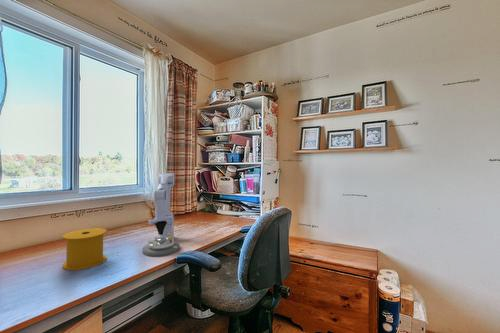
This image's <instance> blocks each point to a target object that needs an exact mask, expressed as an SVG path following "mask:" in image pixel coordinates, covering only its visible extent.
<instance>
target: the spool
mask: <svg viewBox="0 0 500 333" xmlns="http://www.w3.org/2000/svg"><path fill="white" fill-rule="evenodd" d="M107 232H108V231H107V229H106V228H101V227H99V228H96V227H95V228H84V229H83V228H82V229H76V230H74V231H70V232H67V233H66V232H65V233H64V234H63V235H62V239H63V240H65V241H66V255H65V256H66V261H65V262H63V263H62V265H61V266H62V269H63V270H65V271H79V270H85V269H90V268H94V267H96V266H97V267H98V266H99V265H101V264H103V263H105V262H106V260H107V255H105V254H104V235H105V234H107Z"/></svg>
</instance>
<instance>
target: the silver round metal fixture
mask: <svg viewBox="0 0 500 333" xmlns="http://www.w3.org/2000/svg"><path fill="white" fill-rule="evenodd" d="M174 242H175V238H172V233H168V236H165V237H162V238H160V236H155V237H153V239H149V240H148V243H147V244H148V248H149V249H150V250H165V249H169V248H171V247H173V246H174Z"/></svg>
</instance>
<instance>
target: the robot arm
mask: <svg viewBox="0 0 500 333" xmlns="http://www.w3.org/2000/svg"><path fill="white" fill-rule="evenodd" d="M175 177H176V175H175V173H174V172H172V173H171V172H169V173H166V172H163V173H162V172H159V174H158V180H157V181H158V183H159V184H158V186H157V189H156V190H155V191H154V196H153V198H154V203H155V211H154V213H155V217H154V218H153V219H150V220H147V221H148V222H147V224H148V225H153V224H154V226H155V228H156V229H157V233H158V235H159V238H162V237H165V236H168V233H172V238H174V239H175V238H176V237H175V236H174V234H175V233H174V231H175V229H174V226H173V225H174V223H175V217H174V215H175V214H174V213H173V212H171V211H170V208H171V189H172V187H174V186H175Z"/></svg>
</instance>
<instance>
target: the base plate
mask: <svg viewBox="0 0 500 333" xmlns="http://www.w3.org/2000/svg"><path fill="white" fill-rule="evenodd" d="M178 249H179V250H180V243H179V242H177V241H174V246H173V247H171V248H169V249H165V250H150V249H149V248H148V243H147V244H145V245H144V246H142V253H141V254H143V255H144V256H147V257H155V258H156V257H163V256H164V255H165V256H169V255H172V253H173V254H174V252H175V253H176V251H177V250H178ZM179 250H178V251H179ZM178 251H177V252H178ZM168 254H169V255H168ZM165 256H164V257H165Z"/></svg>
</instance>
